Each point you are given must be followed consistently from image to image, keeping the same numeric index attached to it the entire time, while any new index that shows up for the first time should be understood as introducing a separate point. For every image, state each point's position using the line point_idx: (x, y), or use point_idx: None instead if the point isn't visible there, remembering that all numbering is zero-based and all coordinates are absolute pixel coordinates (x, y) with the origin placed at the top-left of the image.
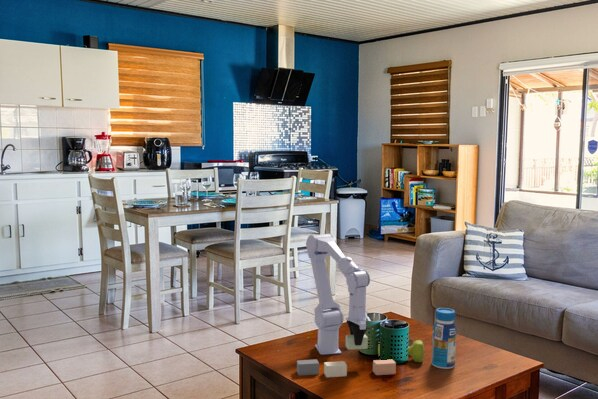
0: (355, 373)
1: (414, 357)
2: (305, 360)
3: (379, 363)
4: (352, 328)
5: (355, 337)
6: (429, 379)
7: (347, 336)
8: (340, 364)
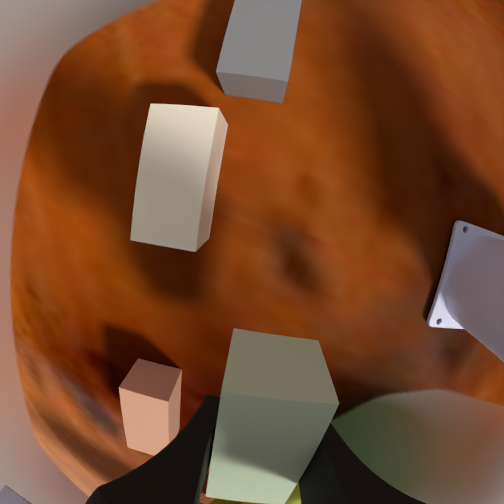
0: (174, 286)
1: (217, 501)
2: (291, 17)
3: (127, 403)
4: (99, 500)
5: (173, 442)
6: (98, 452)
7: (287, 405)
8: (148, 202)
